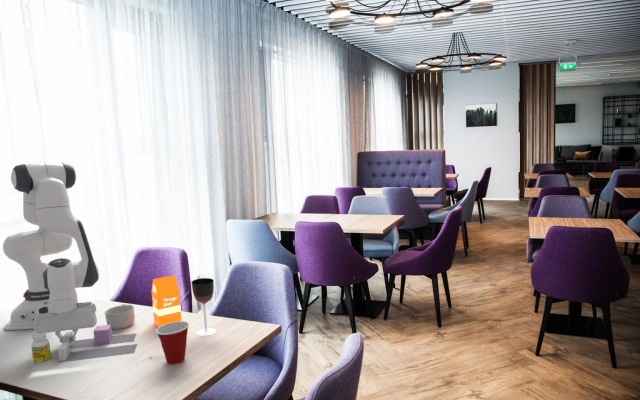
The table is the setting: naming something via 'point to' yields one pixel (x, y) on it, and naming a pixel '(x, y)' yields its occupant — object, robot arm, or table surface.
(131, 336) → the cube strip
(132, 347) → the empty strip
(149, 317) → the table surface
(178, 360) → the plastic cup
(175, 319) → the orange juice
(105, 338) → the plum block
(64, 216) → the robot arm
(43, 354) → the supplement bottle
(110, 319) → the teacup
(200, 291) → the wineglass
